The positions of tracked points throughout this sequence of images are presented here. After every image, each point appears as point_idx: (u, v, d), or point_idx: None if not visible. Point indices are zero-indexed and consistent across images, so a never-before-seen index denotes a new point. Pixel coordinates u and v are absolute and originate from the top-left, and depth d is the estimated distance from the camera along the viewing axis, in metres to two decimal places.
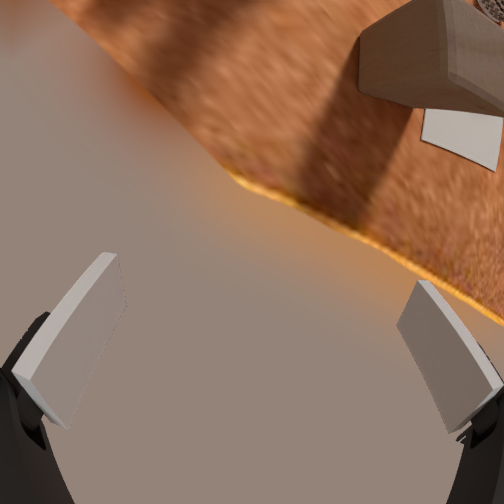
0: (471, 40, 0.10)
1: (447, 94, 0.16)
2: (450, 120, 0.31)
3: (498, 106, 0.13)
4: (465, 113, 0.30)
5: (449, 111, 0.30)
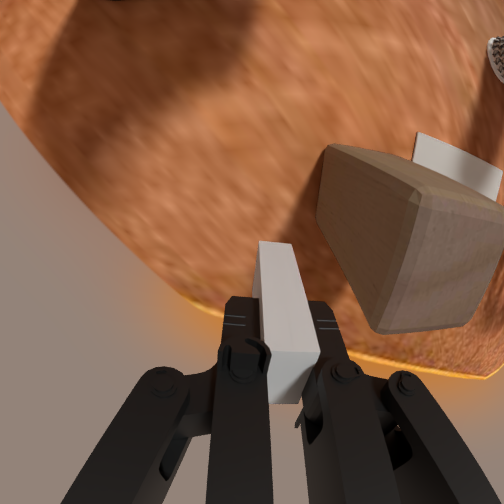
0: (435, 275, 0.13)
1: None
2: None
3: (446, 327, 0.16)
4: None
5: None
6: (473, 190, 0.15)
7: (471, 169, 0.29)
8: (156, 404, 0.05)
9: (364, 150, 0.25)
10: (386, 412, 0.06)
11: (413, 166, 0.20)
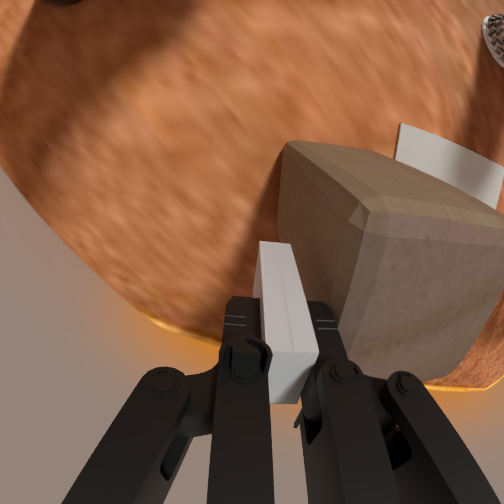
0: (398, 330, 0.09)
1: None
2: None
3: None
4: None
5: None
6: (467, 195, 0.11)
7: (468, 166, 0.25)
8: (157, 404, 0.05)
9: (328, 146, 0.21)
10: (385, 412, 0.06)
11: (386, 164, 0.16)
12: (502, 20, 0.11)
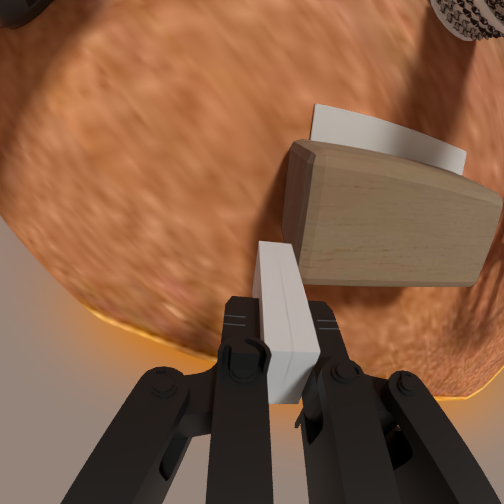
0: None
1: None
2: None
3: None
4: None
5: None
6: (433, 166, 0.23)
7: (413, 149, 0.24)
8: (156, 404, 0.05)
9: (352, 150, 0.19)
10: (387, 412, 0.06)
11: (405, 160, 0.21)
12: None
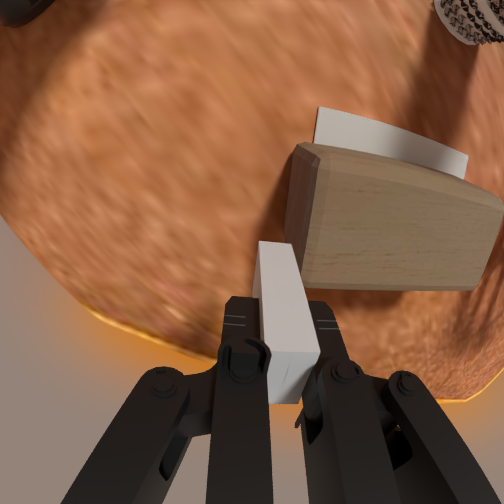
0: None
1: None
2: None
3: None
4: None
5: None
6: (436, 170, 0.23)
7: (415, 152, 0.24)
8: (156, 404, 0.05)
9: (356, 154, 0.19)
10: (387, 412, 0.06)
11: (408, 164, 0.21)
12: None
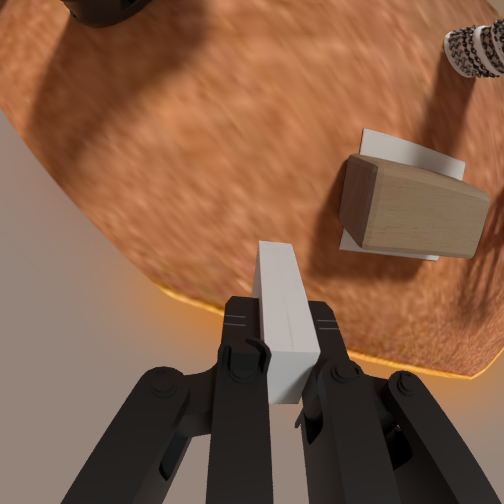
0: None
1: None
2: None
3: None
4: None
5: None
6: (441, 174, 0.32)
7: (427, 161, 0.33)
8: (156, 404, 0.05)
9: (393, 164, 0.28)
10: (386, 412, 0.06)
11: (424, 170, 0.30)
12: (461, 34, 0.20)
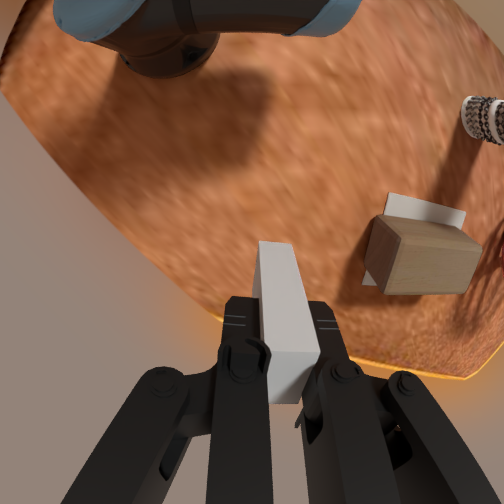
0: None
1: None
2: None
3: None
4: None
5: None
6: (446, 225, 0.41)
7: (435, 215, 0.42)
8: (156, 404, 0.05)
9: (411, 229, 0.37)
10: (387, 412, 0.06)
11: (433, 227, 0.39)
12: (478, 104, 0.29)
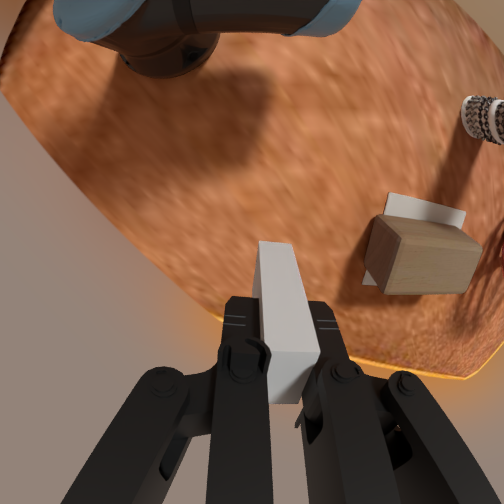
0: None
1: None
2: None
3: None
4: None
5: None
6: (446, 225, 0.41)
7: (435, 214, 0.42)
8: (156, 404, 0.05)
9: (411, 229, 0.37)
10: (386, 412, 0.06)
11: (433, 227, 0.39)
12: (478, 104, 0.29)
